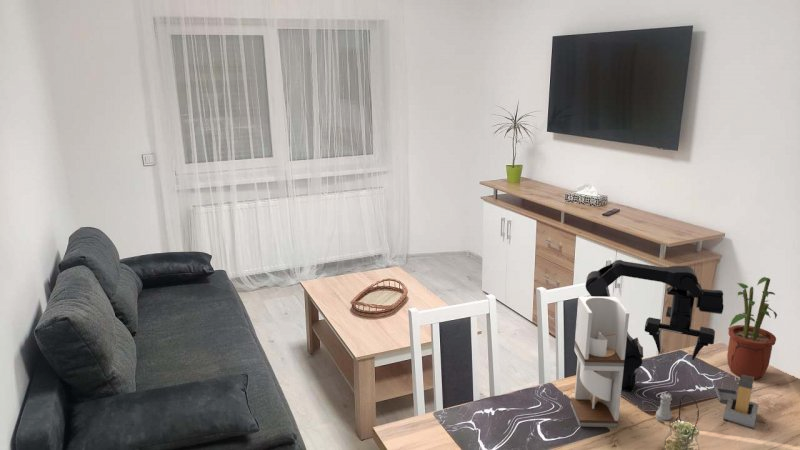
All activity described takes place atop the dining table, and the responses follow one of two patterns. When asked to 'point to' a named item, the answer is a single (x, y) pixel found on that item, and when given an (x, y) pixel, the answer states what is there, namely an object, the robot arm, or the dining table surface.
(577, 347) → the curved tiered shelf
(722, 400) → the charcoal tray
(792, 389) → the dining table surface
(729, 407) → the steel socket block
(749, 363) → the potted plant
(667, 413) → the rook chess piece
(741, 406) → the amber plug
